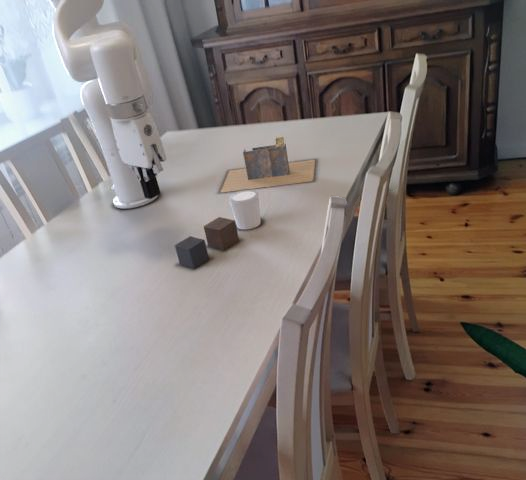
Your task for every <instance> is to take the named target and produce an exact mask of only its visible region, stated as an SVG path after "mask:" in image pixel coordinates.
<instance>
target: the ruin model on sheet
mask: <svg viewBox="0 0 526 480" xmlns="http://www.w3.org/2000/svg"><path fill="white" fill-rule="evenodd" d="M286 143H287V142H286ZM286 143H285V136H284V135H283V136H279V137H277V136H275V144H271V145H266V146H265V145H263V146H257V147H252V148H251V150H247V151H246V148H244V149H243V151H242V154H243V161H244V165H245V168H239V169H232V170H229V171H228V173H227V175H226V178H225V180H224V183H223V184H222V187H221V189H220V193H228V192H229V193H230V192H238V191H245V190H253V189H260V188H269V187H277V186H285V185H294V184H300V183H301V184H303V183H309V182H314V178H315V177H314V175H315V167H316V166H315V165H316V159H310V160H309V159H308V160H302V161H294V162H289V157H288V150H287V144H286Z"/></svg>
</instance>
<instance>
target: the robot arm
mask: <svg viewBox="0 0 526 480" xmlns="http://www.w3.org/2000/svg"><path fill="white" fill-rule="evenodd" d="M48 1H49V3H50V5H51V6H52V7H53V9H54V15H53V18H52V36H53V40H54V44H55V47H56V49H57V51H58V54H59V57H60V60H61V62H62V64H63V67H64V69H65V71H66V73H67V75H68V76H69V77H70V78H71V79H72V80H73V81H75V82H78V83H84V84H83V85H82V86H81V88H80V92H79V93H80V94H79V95H80V99H81V102H82V105H83V108H84V110H85V111H86V114H87V115H88V118H89V119H90V122H91V124H92V126H93V130H94V132H95V134H96V137H97V140H98V142H99V145H100V147H101V151H102V154H103V157H104V160H105V164H106V167H107V169H108V172H109V175H110V178H111V181H112V184H113V185H111V186H110V190H111V191H112V192H115V194H116V196H115V197H114V198H113V201H112V202H113V205H114V207H115V208H116V209H122V210H123V209H124V210H125V209H126V210H127V209H135V208H138V207H142V206H145V205H147V204H150V203H152V202H153V201H155V200H156V199H157V198H158V196H159V195H161V190H160V187H159V182H158V179H157V177H158V174H159V173H161V172H163V171H164V167H163V166H162V163H163V162H166V160H167V155H166V152H165V148H164V145H163V142H162V139H161V136H160V133H159V130H158V127H157V125H156V122H155V120H154V118H153V116H152V114H151V112H149V109H148V108H150V107H151V106H152V105H153V102H154V96H153V90H152V87H151V86H152V85H151V83H150V80H149V76H148V74H147V70H146V67H145V63H144V60H143V57H142V53H141V51H140V48H139V44H138V41H137V39H136V36H135V34H134V32H133V30H132V29H131V27H130V25H129V24H127V23H126V22H124V21H113V22H108V23H105V24H101V23H100V22H99V20H98V18H97V15H98V13H99V12H100V11H101V10H102V8H103V5H104V1H105V0H48Z"/></svg>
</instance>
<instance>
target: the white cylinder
mask: <svg viewBox="0 0 526 480" xmlns="http://www.w3.org/2000/svg"><path fill="white" fill-rule="evenodd" d="M228 201H229V205H230V208H231V211H232V215H233V217H234V218H233V219H234V220H235V223H236V228H237V229H239V230H252V229H255V228H257V227H259V226H260V225H261V223H262V222H261V221H262V220H261V210H260V197H259V192H258V191H257V190H253V189H245V190H239V191H236V192H234V193H233V194H231V195H230V196H229V197H228Z"/></svg>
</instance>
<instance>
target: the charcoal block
mask: <svg viewBox="0 0 526 480" xmlns="http://www.w3.org/2000/svg"><path fill="white" fill-rule="evenodd" d="M174 248H175V252H176V255H177V259H178V263H179V265H181V266H183V267H187V268H189V269H192V270H194V269H196V268H198V267H200V266H201V265H203V264H204V263H206V262H207V261H209V260H210V256H209V253H208V249H207V244H206V240H205V239H203V238H199V237H195V236H191V235H190V236H188V237H186V238H184V239H182V240H181V241H179V242H177V243H176V244H175V245H174Z"/></svg>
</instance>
